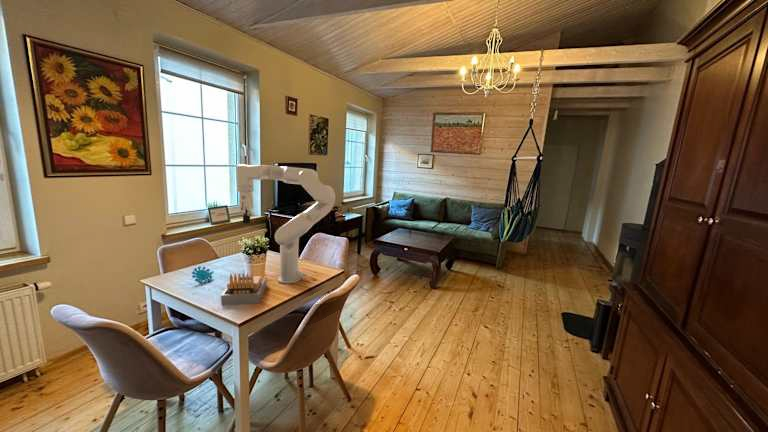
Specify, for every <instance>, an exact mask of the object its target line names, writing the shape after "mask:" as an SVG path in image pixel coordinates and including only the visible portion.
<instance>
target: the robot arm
mask: <svg viewBox="0 0 768 432" xmlns="http://www.w3.org/2000/svg"><path fill="white" fill-rule="evenodd" d="M236 176H237V177H236V179H237V180H236V181H237V184H236V185H237V192H238V193H239V210H240V211H241V212H242V223H243V224H250V223H251V211H252V210H253V209H254V197H253V193H254V180H256V181H260V180H261V181H262V180H275V181H282V182H283V183H285V184H293V185H300V186H302V188H303V189H304V190H305V191H306V192H307V193H308V194H309V195H310V196H311V197H312V198H313V200H315V201H316V202H315V203H313V204H312V205H311V206H310V207H308V208H307V209H305V210H304V211H302V212H300V213H298V214H297V215H296V216H294V217H293V218H292V219H289V221H287V222H286V223H285V224H283V225H282V226H280V227H279V228H278V229H276V231H275V233H274V240H275V242H276V243H277V244H278V245H280V246H279V259H280V260H279V261H280V263H279V266H280V267H279V269H280V271H279V273H280V275H279V276H278V277H277V282H278V283H281V284H286V285H289V284H295V283H298V282H300V281H301V280H302V277H303V278H305V277H306V278H307V277H308V273H307V272H305V271H302V272H301V271H300V269H299V242H300V237H302V236H303V235H305V234H306V233H307V232H308V231H309V230H310V229H312V228H313V226H314V225H315V224H316V223H318V222H319V221H320V220H321V219H323V218H325V216H327V215H328V214H329V213H330V212H331V211H332V209H333V207H334V206H335V202H336V193H335V192H336V191H335V190H334V189H333V187H332V186H330V185H326V184H324V183H323V182H322V181H320V179H319V174H318V172H317V171H316V170H315V169H312V168H305V167H304V168H303V167H295V166H294V167H293V166H279V165H278V166H277V165H271V164H269V165H268V164H255V165H253V164H252V165H251V164H238V165H237V166H236Z"/></svg>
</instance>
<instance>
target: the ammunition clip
mask: <svg viewBox="0 0 768 432" xmlns="http://www.w3.org/2000/svg"><path fill="white" fill-rule="evenodd" d="M241 276H242V282H241ZM245 276H246V282H245ZM249 276H250V281H249ZM253 276H254V275H253V273H250V275H249V272H246V275H245V273H244V272H243V273H242V274H240V273H238V275H237V274H236V273H234V275H233V274H232V273H230V275H229V281H230V283H229V285H230V289H229V294H246V293H255V291H254V281H253ZM233 277H234V285H233ZM237 277H238V283H237Z"/></svg>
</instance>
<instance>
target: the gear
mask: <svg viewBox="0 0 768 432" xmlns="http://www.w3.org/2000/svg"><path fill="white" fill-rule="evenodd" d="M210 271H211V270H210V269H209V268H207V269H206V267H205V266H203V267H201V266H198V267H195V268H193V271H192V272H191V274H192V276H191V277H192V278H194V281H195V282H198V284H202V283H203V284H207V283H208V282H209V283H210V282H211V281H212V280H211V279H213V274H214V273H215V271H213V270H212V271H211V272H210Z"/></svg>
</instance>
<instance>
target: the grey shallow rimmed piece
mask: <svg viewBox="0 0 768 432" xmlns="http://www.w3.org/2000/svg"><path fill="white" fill-rule="evenodd" d="M266 287H267V277H266V276H265V277H263V279H262V280H261V285H260V288H259V290H258V292H257V293H246V294H228V292H227V287H225V289H224V290H223V292H222V293H221V295H220V302H221V303H220V305H221V306H224V305H245V304H260V302H261V299H262V297H263V294H264V292H265V290H266Z"/></svg>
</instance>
